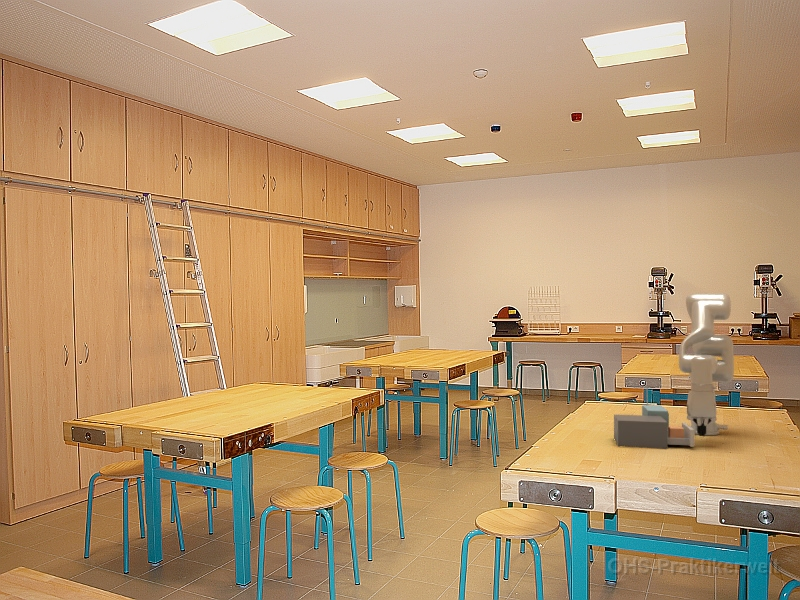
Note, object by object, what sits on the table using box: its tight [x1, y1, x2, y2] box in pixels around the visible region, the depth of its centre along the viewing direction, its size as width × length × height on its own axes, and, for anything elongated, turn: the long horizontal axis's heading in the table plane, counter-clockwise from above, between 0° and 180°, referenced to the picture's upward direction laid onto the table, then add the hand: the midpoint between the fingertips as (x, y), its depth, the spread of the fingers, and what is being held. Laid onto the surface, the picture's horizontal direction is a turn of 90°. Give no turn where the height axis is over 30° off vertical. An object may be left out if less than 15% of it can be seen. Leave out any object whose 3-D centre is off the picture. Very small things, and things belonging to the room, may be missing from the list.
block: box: [668, 425, 684, 438], centre depth 264 cm, size 5×5×5 cm
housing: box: [613, 414, 668, 449], centre depth 267 cm, size 18×15×10 cm
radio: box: [641, 386, 670, 433], centre depth 282 cm, size 16×9×20 cm, turn 168°
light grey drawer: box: [667, 422, 695, 448], centre depth 264 cm, size 17×16×6 cm
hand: (701, 435), depth 262 cm, fingers closed
